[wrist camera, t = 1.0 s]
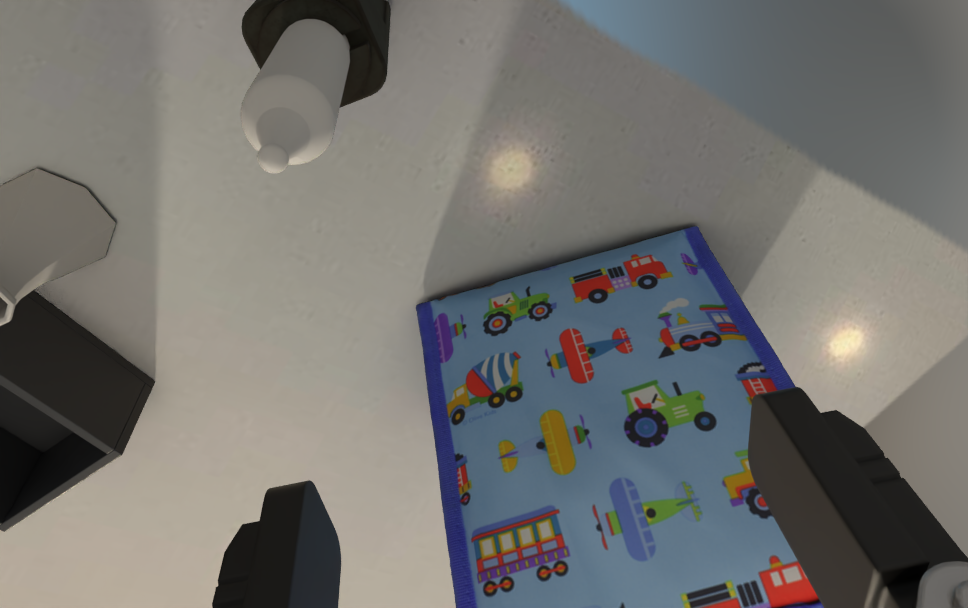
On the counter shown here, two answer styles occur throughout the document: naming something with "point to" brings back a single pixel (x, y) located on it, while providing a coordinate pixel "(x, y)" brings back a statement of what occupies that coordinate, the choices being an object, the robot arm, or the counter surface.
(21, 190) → the flask
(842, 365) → the counter surface
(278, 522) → the robot arm
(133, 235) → the counter surface
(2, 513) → the bin
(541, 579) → the lunch bag
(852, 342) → the counter surface
